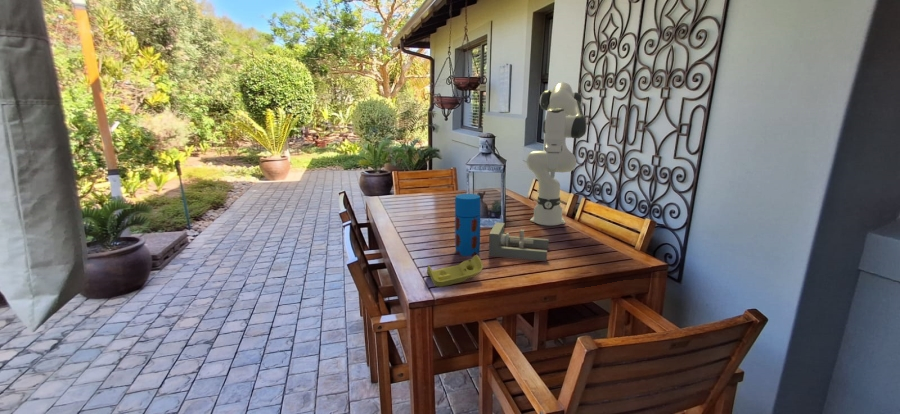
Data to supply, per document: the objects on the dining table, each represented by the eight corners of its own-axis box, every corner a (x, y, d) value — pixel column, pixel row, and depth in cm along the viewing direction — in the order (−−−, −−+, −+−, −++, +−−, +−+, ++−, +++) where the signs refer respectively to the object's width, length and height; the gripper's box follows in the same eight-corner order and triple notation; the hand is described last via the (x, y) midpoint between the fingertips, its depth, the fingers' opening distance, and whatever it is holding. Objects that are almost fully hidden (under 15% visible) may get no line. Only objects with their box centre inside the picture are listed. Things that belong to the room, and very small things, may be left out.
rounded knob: (493, 243, 180) (493, 229, 179) (509, 244, 179) (509, 230, 177) (491, 247, 174) (491, 233, 173) (507, 249, 173) (507, 235, 171)
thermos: (464, 258, 168) (464, 200, 162) (450, 250, 176) (450, 195, 170) (484, 252, 174) (485, 197, 167) (470, 246, 182) (470, 192, 176)
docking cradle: (495, 243, 186) (495, 222, 183) (548, 247, 179) (549, 226, 177) (488, 255, 170) (489, 233, 168) (546, 261, 164) (547, 238, 161)
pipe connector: (532, 256, 168) (533, 234, 166) (508, 255, 170) (509, 232, 168) (532, 249, 178) (533, 227, 175) (510, 247, 180) (511, 226, 177)
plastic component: (435, 283, 139) (427, 262, 146) (434, 296, 143) (426, 275, 150) (487, 271, 145) (476, 251, 152) (484, 284, 150) (473, 264, 157)
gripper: (547, 144, 184) (546, 173, 188) (545, 148, 165) (543, 181, 168) (561, 144, 182) (559, 174, 186) (561, 148, 163) (559, 181, 167)
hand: (552, 177), depth 177 cm, fingers closed
